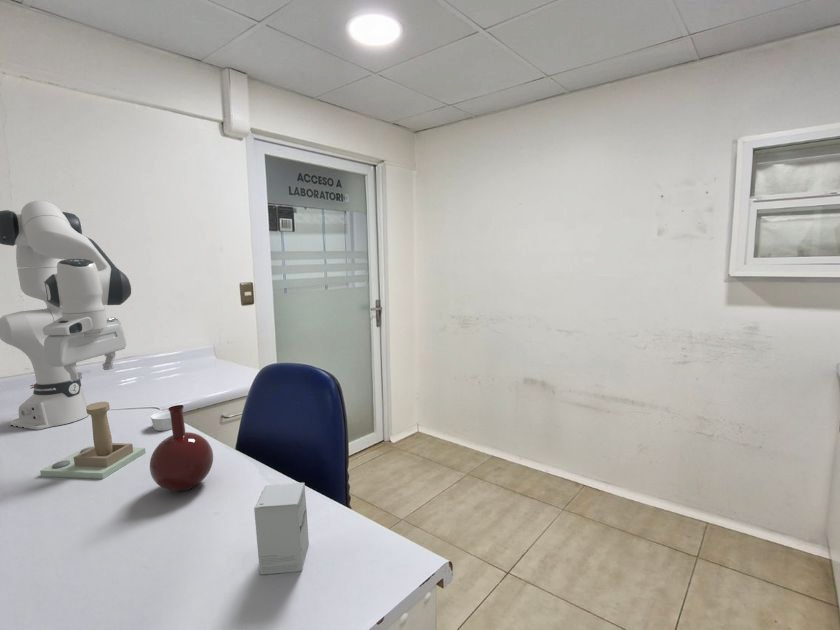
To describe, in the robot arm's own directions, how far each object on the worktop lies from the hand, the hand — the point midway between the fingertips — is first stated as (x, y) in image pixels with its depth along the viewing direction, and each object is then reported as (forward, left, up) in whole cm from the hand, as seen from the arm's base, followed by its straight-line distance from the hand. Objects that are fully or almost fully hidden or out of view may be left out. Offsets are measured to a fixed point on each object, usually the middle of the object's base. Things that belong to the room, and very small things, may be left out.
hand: (93, 374), depth 112 cm
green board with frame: (-3, -1, -25) cm, 25 cm away
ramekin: (-1, +25, -25) cm, 35 cm away
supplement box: (+65, -31, -25) cm, 76 cm away
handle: (+1, -1, -24) cm, 24 cm away
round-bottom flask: (+30, -10, -25) cm, 41 cm away
